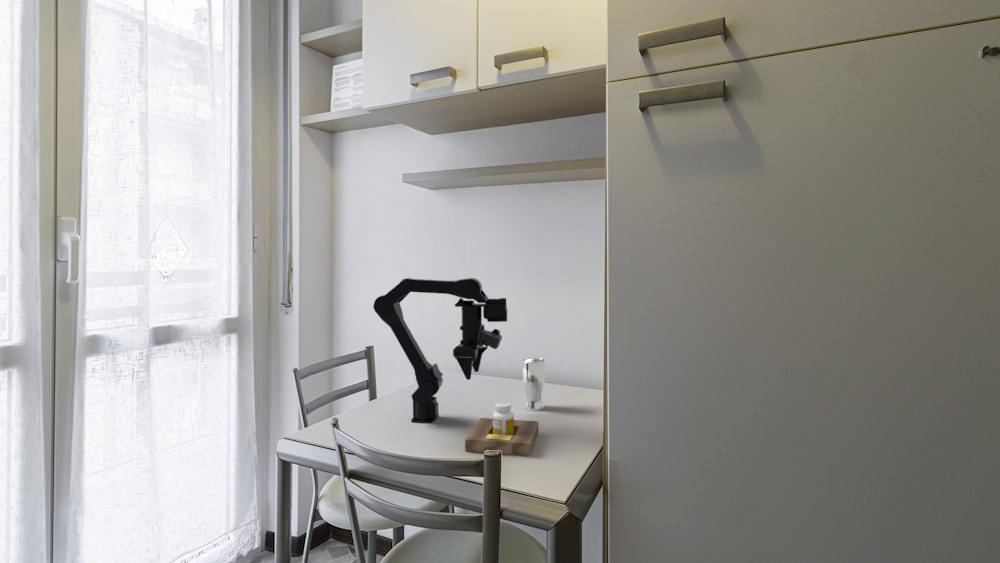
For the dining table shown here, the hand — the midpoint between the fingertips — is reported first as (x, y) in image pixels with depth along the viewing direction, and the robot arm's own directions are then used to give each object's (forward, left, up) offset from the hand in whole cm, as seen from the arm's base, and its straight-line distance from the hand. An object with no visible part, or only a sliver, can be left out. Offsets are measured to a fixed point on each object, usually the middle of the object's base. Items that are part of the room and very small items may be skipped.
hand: (472, 375), depth 146 cm
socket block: (+12, -15, -13) cm, 23 cm away
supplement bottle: (+12, -15, -13) cm, 23 cm away
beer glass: (+16, +14, -13) cm, 25 cm away
